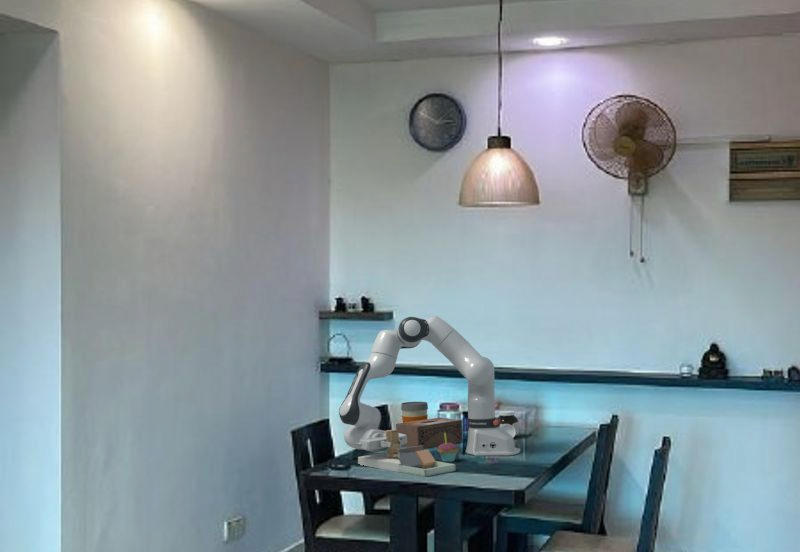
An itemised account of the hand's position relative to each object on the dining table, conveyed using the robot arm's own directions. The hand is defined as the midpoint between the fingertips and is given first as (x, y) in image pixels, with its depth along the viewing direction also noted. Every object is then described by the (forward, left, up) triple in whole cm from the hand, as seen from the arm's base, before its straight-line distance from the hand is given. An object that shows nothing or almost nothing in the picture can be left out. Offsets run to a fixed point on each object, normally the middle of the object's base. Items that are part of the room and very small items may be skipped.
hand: (396, 443), depth 405 cm
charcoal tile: (-8, +9, -6) cm, 13 cm away
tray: (-15, +9, -9) cm, 20 cm away
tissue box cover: (+5, -55, -9) cm, 56 cm away
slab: (+2, -1, -9) cm, 9 cm away
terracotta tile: (-11, +3, -6) cm, 13 cm away
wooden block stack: (-2, +1, -5) cm, 5 cm away
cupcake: (-16, -15, -9) cm, 24 cm away
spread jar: (-25, -76, -9) cm, 81 cm away
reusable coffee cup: (+20, -79, -9) cm, 82 cm away
